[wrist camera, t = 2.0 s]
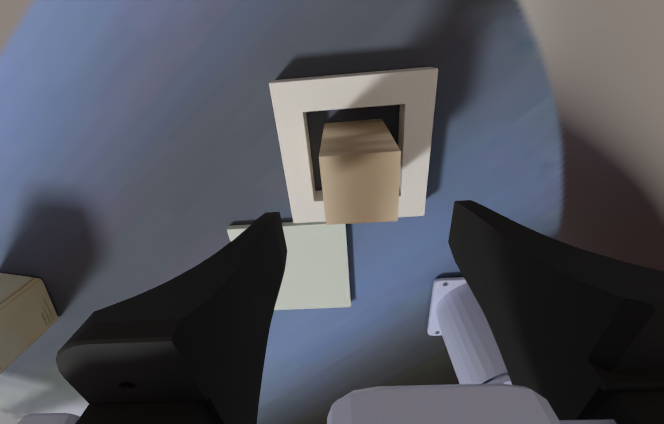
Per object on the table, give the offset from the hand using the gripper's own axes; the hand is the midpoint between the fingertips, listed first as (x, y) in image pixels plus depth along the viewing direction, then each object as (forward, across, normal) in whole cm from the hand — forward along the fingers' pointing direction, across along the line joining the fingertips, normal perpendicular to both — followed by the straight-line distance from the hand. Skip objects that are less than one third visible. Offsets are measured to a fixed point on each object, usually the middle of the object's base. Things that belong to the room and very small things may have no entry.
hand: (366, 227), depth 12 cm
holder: (+10, 0, 0) cm, 10 cm away
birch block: (+10, 0, 0) cm, 10 cm away
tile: (+10, +6, +11) cm, 16 cm away
